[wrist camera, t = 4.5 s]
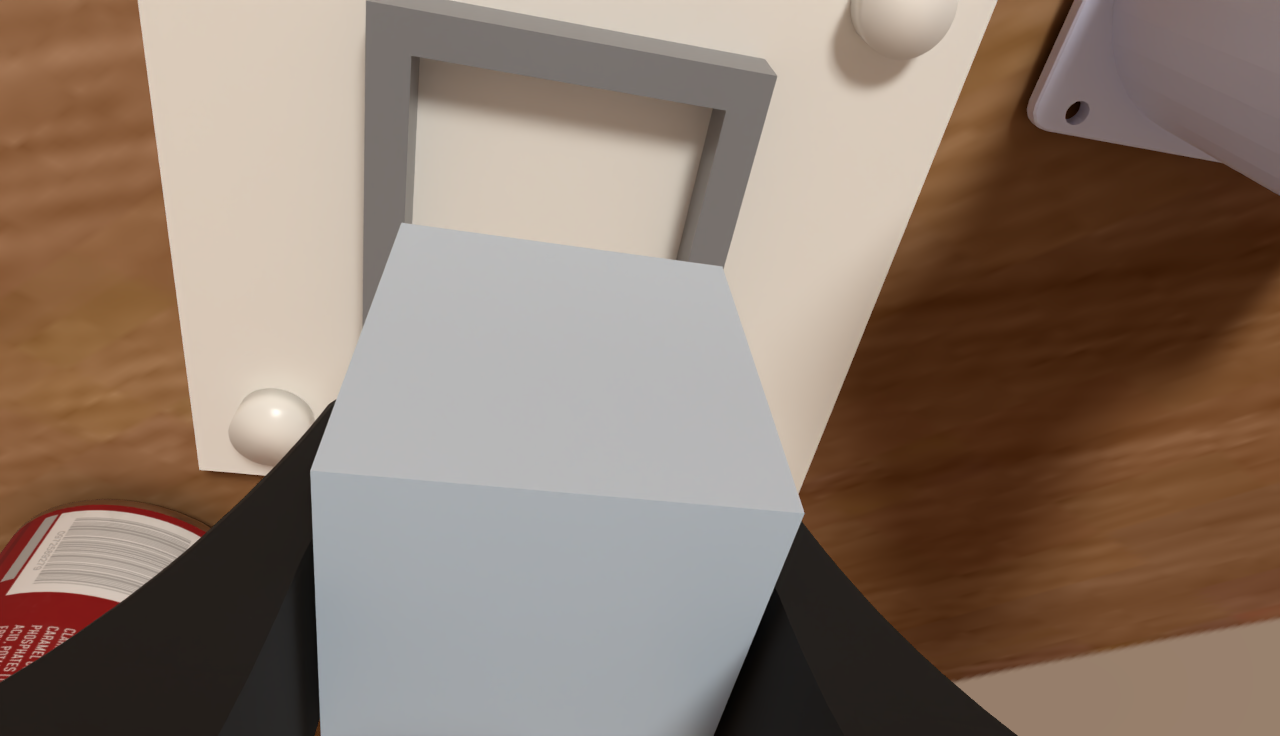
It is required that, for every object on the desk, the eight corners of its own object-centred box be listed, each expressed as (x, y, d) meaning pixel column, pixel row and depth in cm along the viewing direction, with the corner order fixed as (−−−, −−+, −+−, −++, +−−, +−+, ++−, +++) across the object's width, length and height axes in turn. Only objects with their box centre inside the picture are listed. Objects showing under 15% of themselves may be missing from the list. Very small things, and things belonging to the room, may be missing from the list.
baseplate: (1011, -98, 16) (1065, -84, 15) (779, 498, 25) (796, 552, 23) (125, -304, 14) (57, -318, 12) (212, 444, 22) (182, 502, 21)
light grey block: (721, 266, 12) (804, 512, 8) (643, 555, 15) (673, 834, 11) (401, 222, 11) (310, 471, 7) (391, 535, 15) (324, 827, 10)
